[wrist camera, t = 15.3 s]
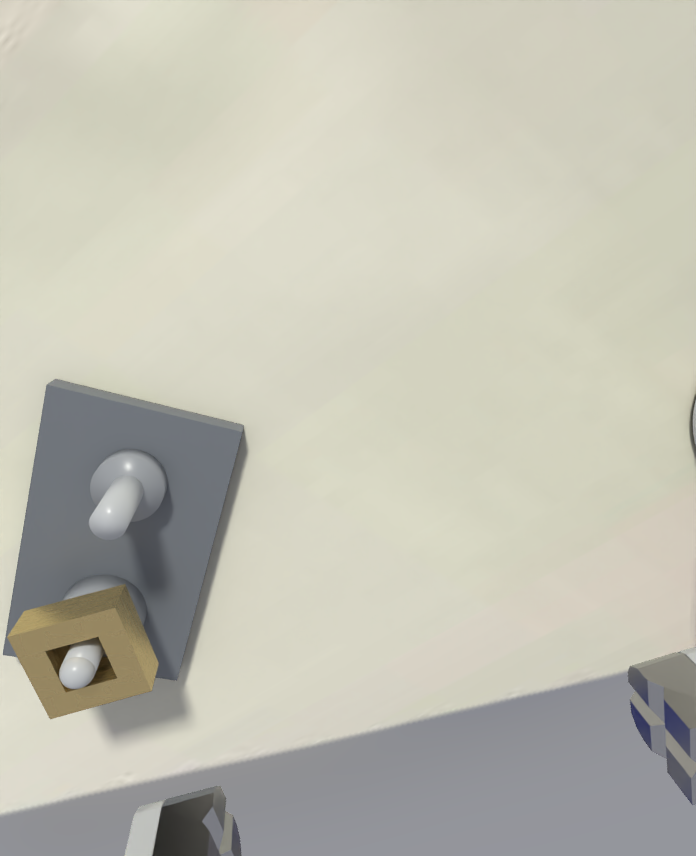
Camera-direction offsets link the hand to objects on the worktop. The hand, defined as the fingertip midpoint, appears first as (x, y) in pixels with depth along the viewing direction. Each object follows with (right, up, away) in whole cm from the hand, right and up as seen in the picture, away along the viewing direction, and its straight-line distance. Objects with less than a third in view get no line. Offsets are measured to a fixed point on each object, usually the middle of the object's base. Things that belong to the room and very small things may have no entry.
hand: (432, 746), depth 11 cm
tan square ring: (-18, -7, +26) cm, 33 cm away
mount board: (-17, -1, +29) cm, 34 cm away
